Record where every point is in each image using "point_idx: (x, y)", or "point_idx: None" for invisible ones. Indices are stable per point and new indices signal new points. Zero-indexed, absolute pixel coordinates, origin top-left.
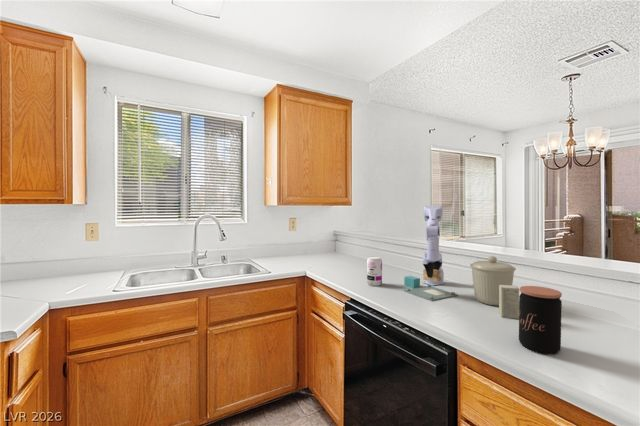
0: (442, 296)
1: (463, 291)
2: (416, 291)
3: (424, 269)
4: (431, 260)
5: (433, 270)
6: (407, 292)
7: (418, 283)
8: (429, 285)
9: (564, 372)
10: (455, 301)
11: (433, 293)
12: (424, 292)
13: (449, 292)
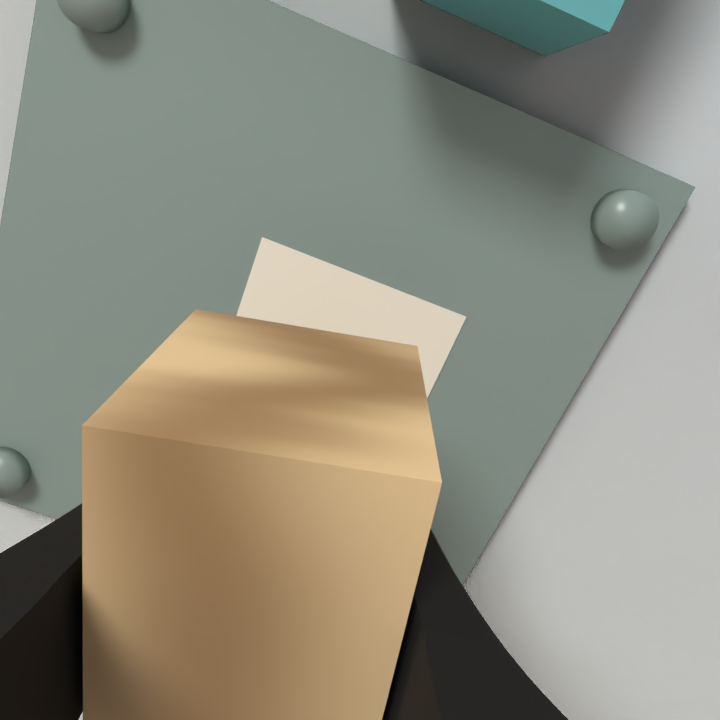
0: None
1: (670, 631)
2: (155, 161)
3: (141, 450)
4: None
5: (206, 708)
6: (44, 19)
7: (526, 27)
8: (621, 227)
9: None
10: None
11: None
12: (200, 292)
13: (452, 552)
